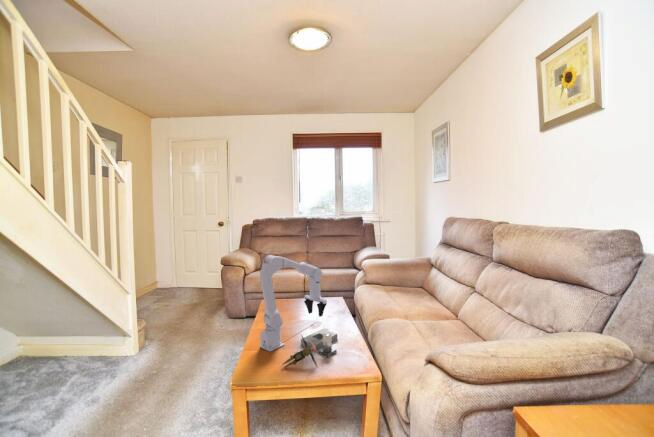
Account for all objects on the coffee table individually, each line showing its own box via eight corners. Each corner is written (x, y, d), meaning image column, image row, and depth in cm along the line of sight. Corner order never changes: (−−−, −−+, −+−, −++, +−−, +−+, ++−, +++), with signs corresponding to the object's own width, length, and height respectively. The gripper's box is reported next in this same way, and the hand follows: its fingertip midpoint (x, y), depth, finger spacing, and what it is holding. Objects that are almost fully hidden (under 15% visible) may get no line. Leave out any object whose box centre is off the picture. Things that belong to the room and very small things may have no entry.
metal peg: (327, 352, 136) (327, 337, 136) (321, 350, 139) (320, 335, 138) (333, 349, 139) (333, 334, 139) (326, 347, 142) (326, 332, 141)
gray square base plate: (328, 357, 135) (328, 354, 135) (318, 353, 139) (318, 350, 139) (336, 352, 139) (336, 349, 139) (326, 348, 143) (326, 345, 143)
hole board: (315, 351, 141) (315, 344, 141) (300, 345, 148) (300, 338, 148) (337, 339, 153) (337, 333, 153) (322, 334, 160) (322, 328, 160)
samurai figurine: (293, 382, 129) (333, 357, 134) (290, 384, 120) (333, 356, 125) (276, 347, 135) (315, 324, 140) (273, 346, 126) (314, 321, 131)
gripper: (330, 289, 159) (330, 315, 160) (310, 285, 169) (310, 309, 169) (321, 292, 154) (321, 319, 154) (301, 288, 163) (301, 313, 164)
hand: (315, 314), depth 161 cm, fingers open, 7 cm apart
